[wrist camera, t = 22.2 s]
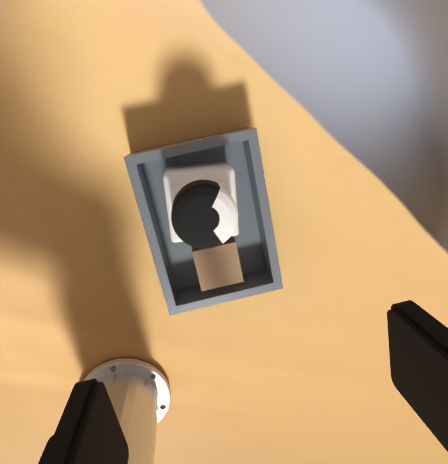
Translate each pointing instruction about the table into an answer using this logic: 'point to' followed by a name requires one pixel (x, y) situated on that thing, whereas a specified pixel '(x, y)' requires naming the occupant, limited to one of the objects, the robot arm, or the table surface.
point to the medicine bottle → (201, 203)
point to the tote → (249, 218)
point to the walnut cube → (218, 265)
